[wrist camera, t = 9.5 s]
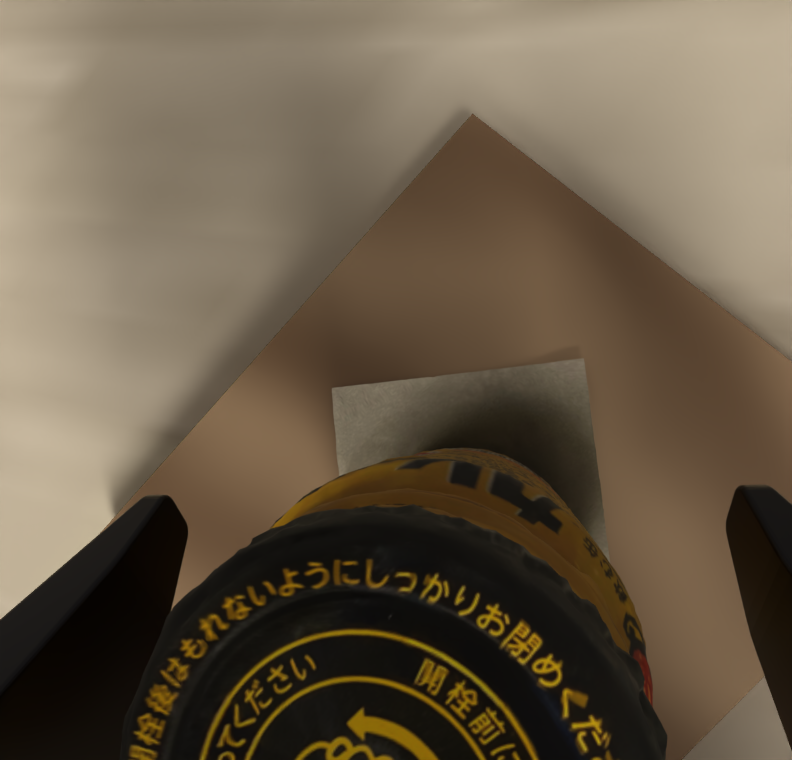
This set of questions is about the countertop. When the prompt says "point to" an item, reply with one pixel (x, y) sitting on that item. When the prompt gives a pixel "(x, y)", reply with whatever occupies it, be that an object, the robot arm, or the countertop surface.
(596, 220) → the walnut board
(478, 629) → the condiment
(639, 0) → the countertop surface
